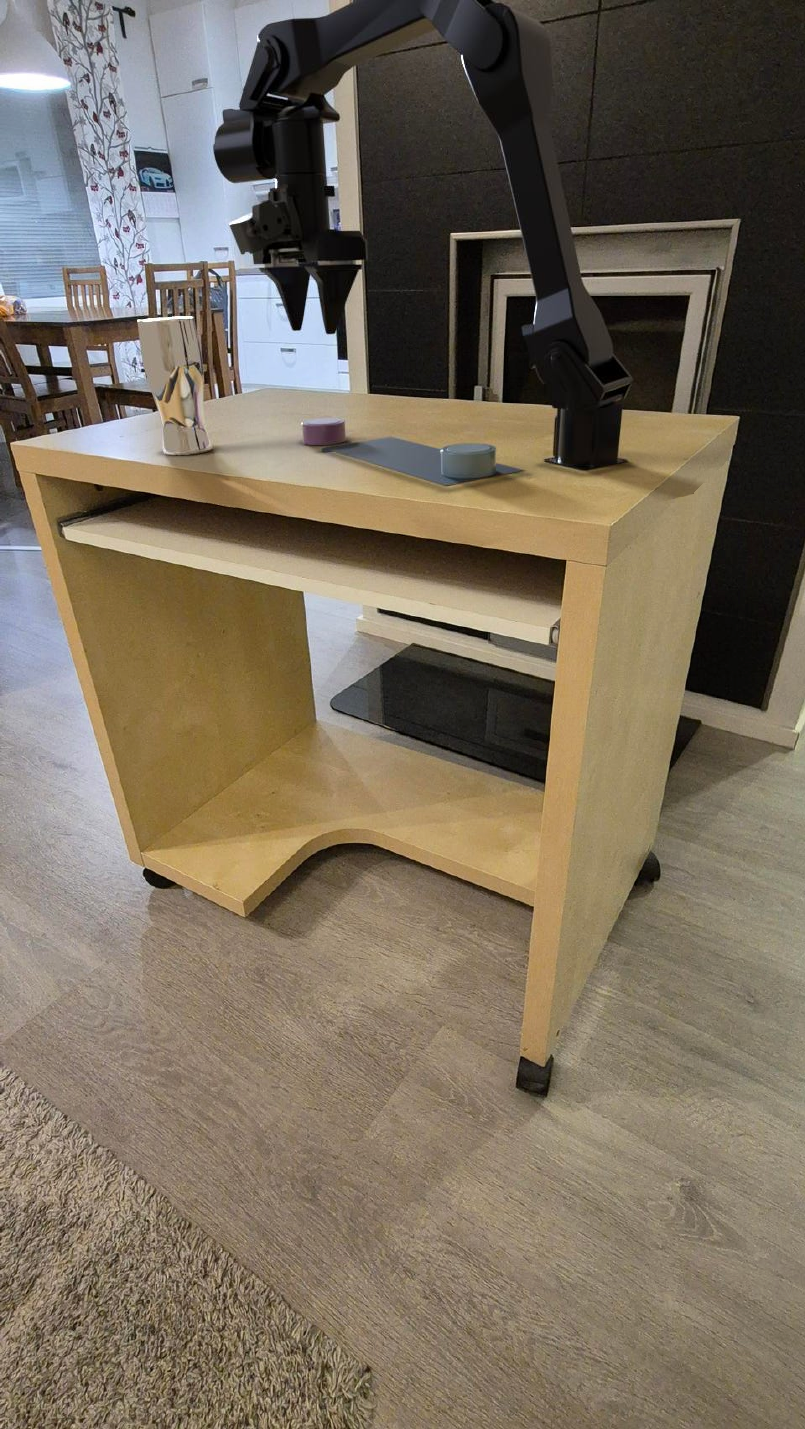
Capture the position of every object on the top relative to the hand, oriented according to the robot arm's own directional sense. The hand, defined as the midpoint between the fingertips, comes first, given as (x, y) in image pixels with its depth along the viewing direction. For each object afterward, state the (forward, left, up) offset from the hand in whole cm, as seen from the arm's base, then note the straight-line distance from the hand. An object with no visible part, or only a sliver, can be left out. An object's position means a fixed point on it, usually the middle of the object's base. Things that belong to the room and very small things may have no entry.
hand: (313, 332), depth 94 cm
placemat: (-19, -2, -13) cm, 23 cm away
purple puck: (0, 0, -13) cm, 13 cm away
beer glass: (+7, +16, -13) cm, 22 cm away
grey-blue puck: (-29, -2, -12) cm, 31 cm away
